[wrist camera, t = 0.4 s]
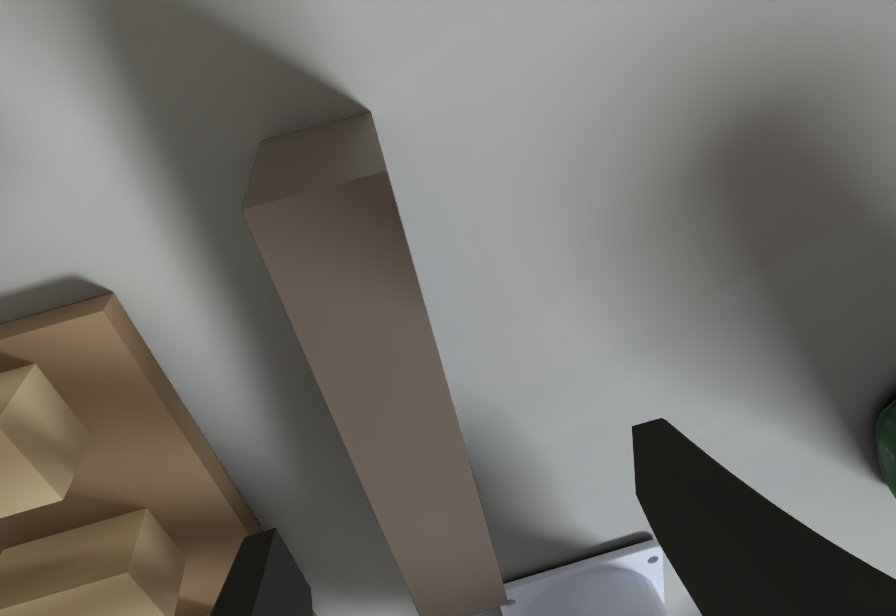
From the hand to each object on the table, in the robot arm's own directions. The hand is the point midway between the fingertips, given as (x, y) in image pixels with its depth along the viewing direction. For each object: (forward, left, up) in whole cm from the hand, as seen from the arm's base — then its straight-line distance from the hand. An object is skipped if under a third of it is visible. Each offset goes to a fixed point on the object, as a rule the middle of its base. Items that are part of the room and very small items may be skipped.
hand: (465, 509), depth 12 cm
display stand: (-6, +13, -9) cm, 17 cm away
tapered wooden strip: (-2, +1, -9) cm, 9 cm away
